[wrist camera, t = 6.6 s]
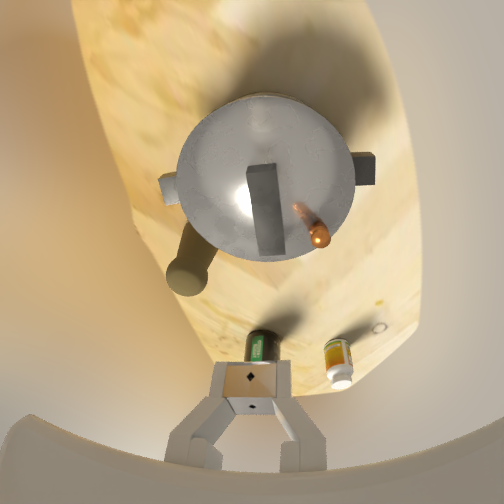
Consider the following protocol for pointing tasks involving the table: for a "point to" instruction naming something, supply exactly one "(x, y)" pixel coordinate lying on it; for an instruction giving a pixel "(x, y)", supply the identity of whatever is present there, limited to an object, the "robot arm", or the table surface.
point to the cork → (190, 263)
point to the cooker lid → (265, 179)
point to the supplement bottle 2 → (338, 363)
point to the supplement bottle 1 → (262, 346)
